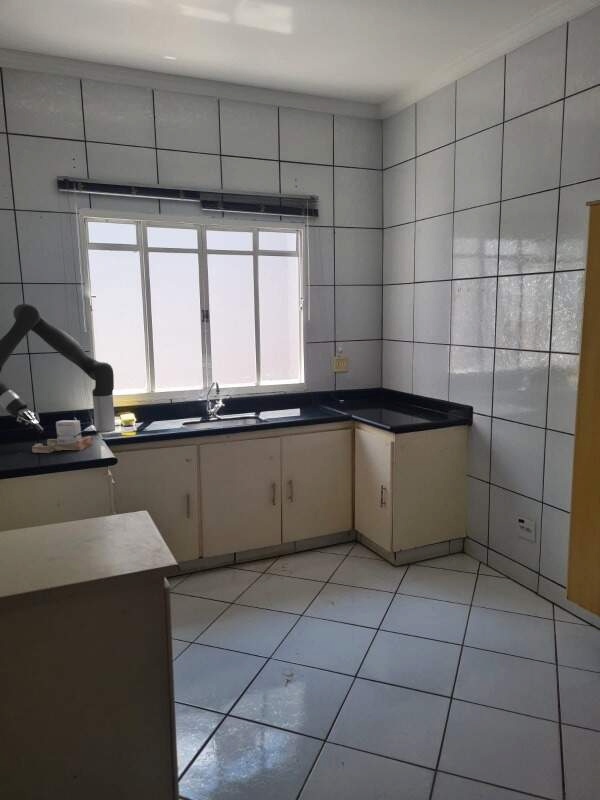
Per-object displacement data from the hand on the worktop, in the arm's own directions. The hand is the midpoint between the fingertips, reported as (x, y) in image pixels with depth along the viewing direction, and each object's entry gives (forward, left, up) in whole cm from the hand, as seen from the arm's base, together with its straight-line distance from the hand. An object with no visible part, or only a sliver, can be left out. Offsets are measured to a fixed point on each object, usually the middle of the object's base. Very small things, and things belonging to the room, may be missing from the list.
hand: (41, 431), depth 242 cm
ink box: (+1, +13, -7) cm, 15 cm away
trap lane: (0, +9, -7) cm, 11 cm away
